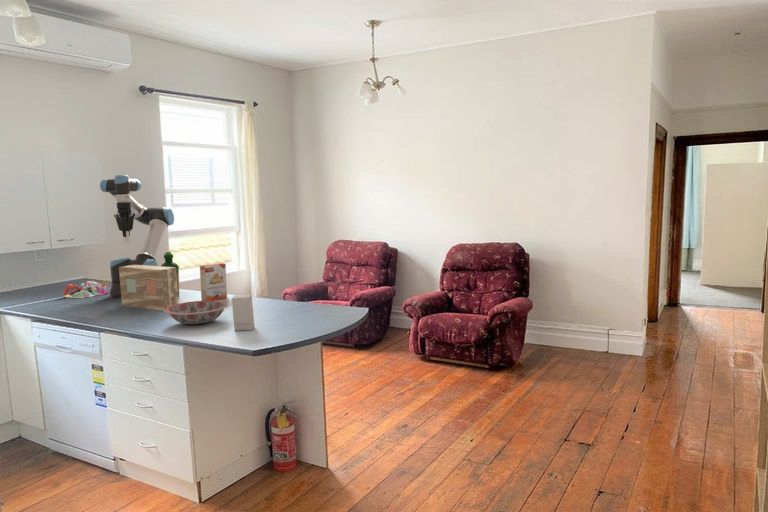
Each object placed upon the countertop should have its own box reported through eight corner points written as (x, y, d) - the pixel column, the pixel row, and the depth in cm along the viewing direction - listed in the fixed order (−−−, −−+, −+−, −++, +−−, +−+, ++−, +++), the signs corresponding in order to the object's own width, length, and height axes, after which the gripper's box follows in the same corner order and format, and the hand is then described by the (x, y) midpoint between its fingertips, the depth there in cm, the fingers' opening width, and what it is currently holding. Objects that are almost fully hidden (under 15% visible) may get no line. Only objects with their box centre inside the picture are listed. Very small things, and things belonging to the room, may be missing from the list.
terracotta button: (156, 295, 306) (155, 280, 305) (146, 294, 310) (145, 279, 309) (161, 294, 309) (160, 279, 308) (151, 293, 313) (149, 278, 312)
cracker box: (207, 302, 324) (204, 266, 321) (201, 301, 328) (198, 265, 325) (228, 298, 335) (225, 263, 332) (221, 297, 339) (219, 262, 336)
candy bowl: (81, 291, 371) (80, 277, 370) (117, 291, 370) (115, 277, 369) (58, 299, 346) (57, 284, 345) (96, 298, 345) (94, 283, 344)
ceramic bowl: (193, 314, 294) (192, 299, 293) (241, 317, 284) (240, 302, 282) (152, 328, 267) (150, 311, 266) (202, 332, 257) (201, 315, 256)
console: (164, 310, 305) (161, 270, 302) (122, 305, 321) (118, 267, 318) (178, 306, 314) (175, 267, 311) (137, 302, 330) (134, 264, 327)
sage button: (136, 293, 314) (135, 278, 313) (126, 292, 318) (125, 278, 317) (141, 292, 317) (140, 278, 316) (131, 291, 320) (130, 277, 319)
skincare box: (254, 327, 264) (252, 294, 262) (252, 330, 257) (250, 297, 255) (236, 327, 263) (234, 294, 261) (233, 331, 257) (231, 297, 255)
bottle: (177, 299, 333) (173, 252, 330) (159, 300, 334) (155, 253, 330) (183, 296, 344) (180, 250, 340) (166, 296, 344) (162, 250, 341)
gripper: (118, 202, 322) (121, 243, 325) (137, 201, 334) (140, 241, 337) (109, 202, 326) (112, 243, 329) (128, 201, 337) (132, 241, 340)
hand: (126, 242), depth 333 cm, fingers closed
